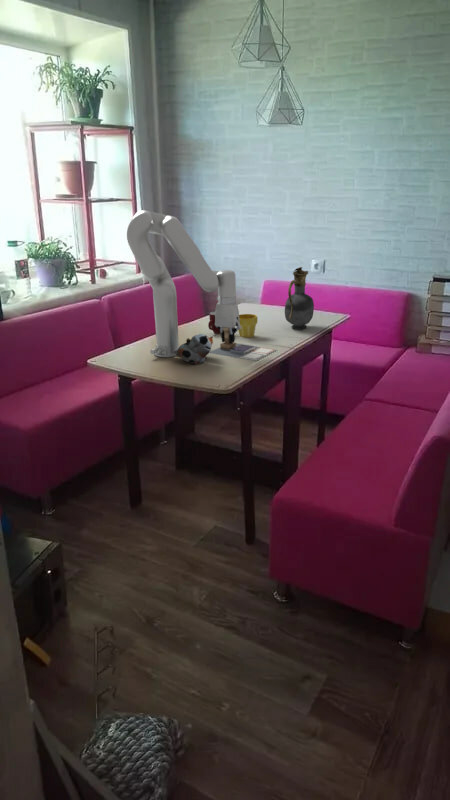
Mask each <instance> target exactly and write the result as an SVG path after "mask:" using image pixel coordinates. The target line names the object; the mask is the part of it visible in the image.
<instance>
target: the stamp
mask: <svg viewBox="0 0 450 800" xmlns="http://www.w3.org/2000/svg"><path fill="white" fill-rule="evenodd" d="M223 331H224V340H225V342H221V343H220V345H219V346H220V347H219V348H220V349H221V350H227V351H230V349H232V348H235V347H236V343H237V342H235V341H234V342H233V343H229V334H230V328H226V327H223Z"/></svg>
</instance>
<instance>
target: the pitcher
mask: <svg viewBox="0 0 450 800" xmlns="http://www.w3.org/2000/svg"><path fill="white" fill-rule="evenodd" d="M292 275H293V276H294V278H293V280H291V281H290V283H289V285H288V290H287V291H288V295H287V296H288V297H287V299H286V301H285V305H284V317H285V320H286V321H287V323H289V324H291V329H292V330H295V331H297V330H298V331H299V330H300V331H301V329H302V330H305V329H307V327H308V326H307V325H308V324H309V323H310V322H311V320H312V319H313V316H314V312H315V311H314V310H315V303H314V299H313V298H312V297H311V296H310V295H309V294H306V292H305V291H306V284H307V283H306V280H307V279H306V278H307V275H309V271H308V270H303V267H302V266H300V267H297V268H295V269H294V270H293V272H292ZM293 285H294V293H292V287H293Z"/></svg>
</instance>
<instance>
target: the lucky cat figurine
mask: <svg viewBox="0 0 450 800" xmlns="http://www.w3.org/2000/svg"><path fill="white" fill-rule="evenodd" d="M185 341H186V342H184V343H182V344H180V345H179V348H178V350H177V351H175V352H174V353H175V354H176V356H177V357H179V358H180V359H181V360H183V361H185V362H187V363H189V364H192V365H194V366H196V365H198V364H202V363H204V362H205V360H206V356H208V355H209V354H210V353H209V352H210V351H212V345H213V343H214V340H213V336H210V337H209V336H208V335H206V334H204V333H202V334H201V333H199V334H195V335H194V336H192V337H191V338H189V337H188V338H187V339H185Z"/></svg>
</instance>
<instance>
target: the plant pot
mask: <svg viewBox="0 0 450 800" xmlns="http://www.w3.org/2000/svg"><path fill="white" fill-rule="evenodd" d="M239 323H240V326H241V329H239V330H237V332H238V335H239V337H242V338H249V339H251V338H253V337H254V336H255V334H256V326H257V324H258V315H257V314H252V313H241V314H239Z"/></svg>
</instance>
